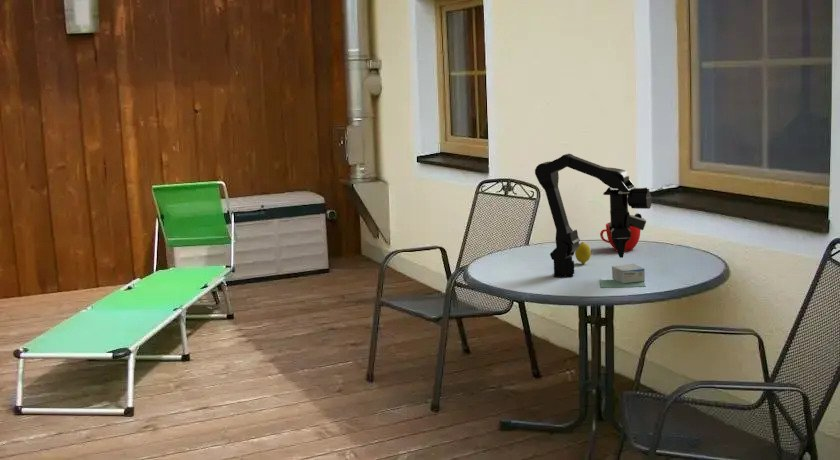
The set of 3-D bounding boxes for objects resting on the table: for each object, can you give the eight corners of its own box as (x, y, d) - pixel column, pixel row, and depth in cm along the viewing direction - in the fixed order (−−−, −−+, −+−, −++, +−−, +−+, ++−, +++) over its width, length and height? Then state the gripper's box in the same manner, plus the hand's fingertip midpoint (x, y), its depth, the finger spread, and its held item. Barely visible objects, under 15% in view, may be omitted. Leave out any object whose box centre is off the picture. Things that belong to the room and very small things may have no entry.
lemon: (580, 266, 344) (580, 244, 342) (572, 263, 349) (571, 241, 348) (594, 264, 346) (593, 242, 344) (585, 261, 351) (585, 240, 350)
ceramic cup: (591, 250, 370) (590, 225, 368) (627, 245, 377) (626, 219, 375) (611, 255, 358) (610, 229, 357) (648, 249, 365) (647, 223, 363)
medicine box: (611, 278, 320) (622, 284, 312) (611, 265, 319) (622, 270, 311) (634, 276, 322) (645, 281, 313) (633, 263, 321) (644, 268, 312)
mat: (600, 287, 310) (600, 287, 309) (599, 280, 320) (599, 279, 320) (645, 286, 307) (645, 286, 307) (643, 279, 318) (643, 278, 317)
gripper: (646, 211, 306) (647, 259, 309) (641, 203, 325) (643, 248, 327) (610, 213, 308) (612, 260, 311) (608, 204, 326) (609, 249, 329)
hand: (620, 254), depth 319 cm, fingers open, 9 cm apart
